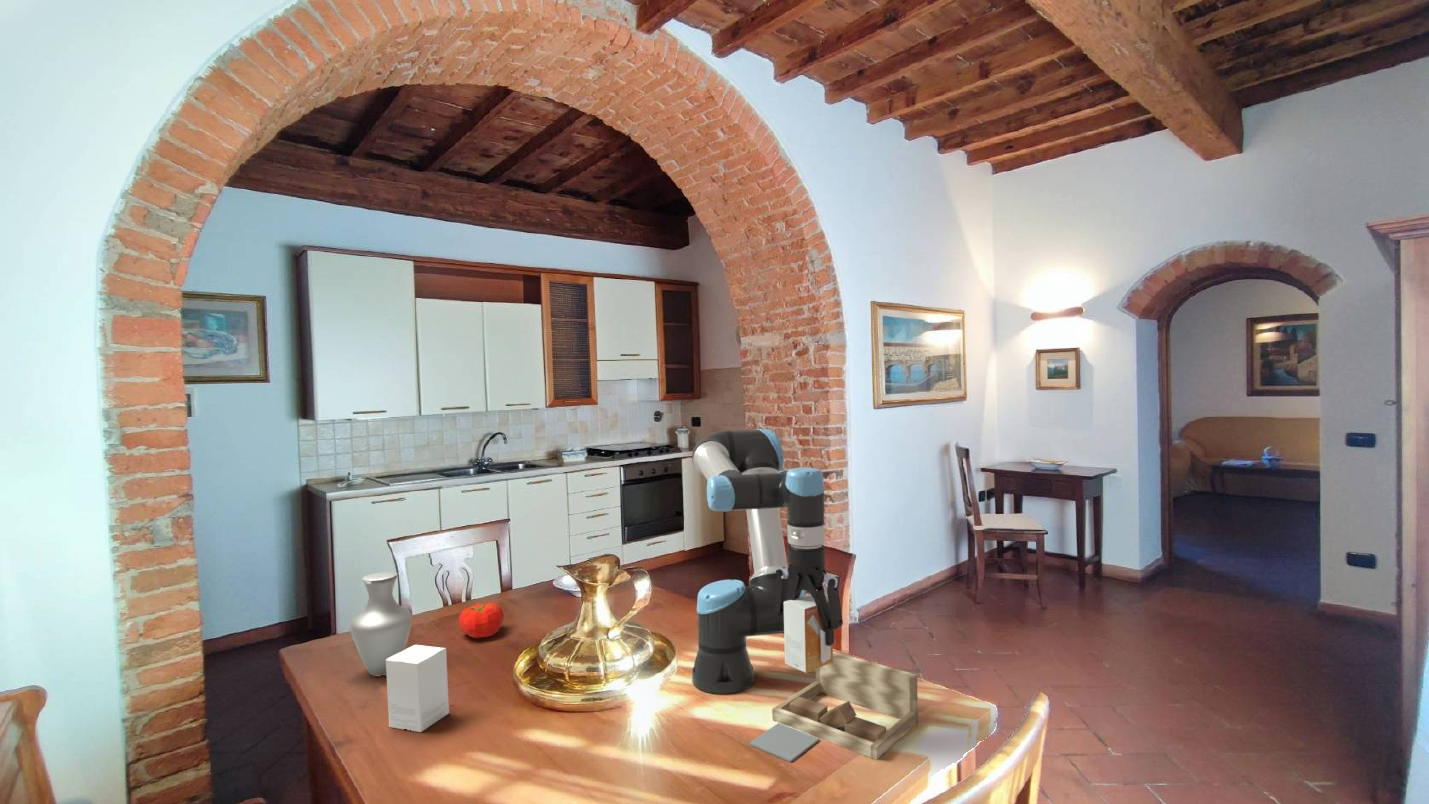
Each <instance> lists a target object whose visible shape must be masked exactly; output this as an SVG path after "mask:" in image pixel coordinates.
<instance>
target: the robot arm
mask: <svg viewBox="0 0 1429 804" xmlns="http://www.w3.org/2000/svg"><path fill="white" fill-rule="evenodd" d="M691 460H692V464H693V466H694V469H695V470H696V472H698V473H699V474H700V475H701V476H704V477H705V479H706V500H707V505H708V508H709V509H710V510H711V511H713V512H724V513H726V512H727V513H728V512H733V511H734V512H735V511H746V519H747V526H748V533H749V542H750V550H751V556H752V557H751V558H752V565H753V566H752V567H753V571H754V572H753V574H752V576H751V577H750V579H749V586H746V585H745V583H744V581H742V580H739V579H722V580H717V581H714V582H711V583H708V584H707V585H705V586H703V587H702V588H701V589H700V590H699V592H698V593H697V601H696V613H697V637H698V638H697V640H698V643H697V644H698V648H697V649H698V650H697V653H696V656H695V660H694V664H693V667H692V671H691V679H692V680H691V682H692V684H693V686H694V687H695V688H697V689H698V690H699V691H702V692H706V693H709V694H718V695H719V694H720V695H721V694H722V695H723V694H725V695H726V694H733V693H734V694H735V693H738V692H742V691H744V690H746V689H749V688H750V687H751V686H752V685H753V684H754V683H755V670H754V669H755V668H754V667H753V665H752V663H751V659H750V656H749V653H748V649H747V637H757V636H758V637H759V636H766V635H767V636H768V635H769V636H770V635H779V634H782V635H784V601H788V600H795V599H797V598H799V597H801V596H805V595H807V592H809V594H811V596H812V597H813V598H814V601H815V604H816V605H817V609H818V612H819V615H820V618H821V621H822V624H823V627H824V628H822V629H821V630H820V640H821V662H823V663H825V662H826V661H828V660H829V659H830V658H831V645H832V644H833V645H834V643H835V630H837V629H838V628H840V627H842V626H843V623H844V621H843V615H842V607H841V606H842V605H841V599H840V594H839V586H840V578H839V576H838V575H837V576H831V575H829V574H827V572H826V568H825V566H826V547H825V545H824V544H825V543H826V537H825V536H826V535H825V534H826V533H825V484H824V474H823V472H822V470H821V469H819V468H813V467H794V468H790V469H789V470H787V469H785V470H782V469H783V467H784V450H783V446H782V443H781V440H780V438H779V435H778V434H777V433H776V432H775V431H773V430H772V429H760V428H756V429H742V430H740V429H739V430H738V429H737V430H719V431H715V432H711V433H710V434H709V433H708V434H707V435H705V436H704V437H702V438H701V439H700V440H699V441H698V442H697V443H696V445H695V446H694V448H693V450H692V454H691ZM781 508H785V509H786V519H787V520H786V521H787V522H786V523H787V524H786V525H787V526H786V527H787V543H788V544H789V545H788V546H787V553H786V548H785V541H784V533H783V528H782V520H781V515H780V509H781ZM824 582H825V587H827V589H826V594H827V598H826V594H825V588H824V585H823V583H824ZM826 599H828V602H829V606H828V603H827V600H826Z"/></svg>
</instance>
